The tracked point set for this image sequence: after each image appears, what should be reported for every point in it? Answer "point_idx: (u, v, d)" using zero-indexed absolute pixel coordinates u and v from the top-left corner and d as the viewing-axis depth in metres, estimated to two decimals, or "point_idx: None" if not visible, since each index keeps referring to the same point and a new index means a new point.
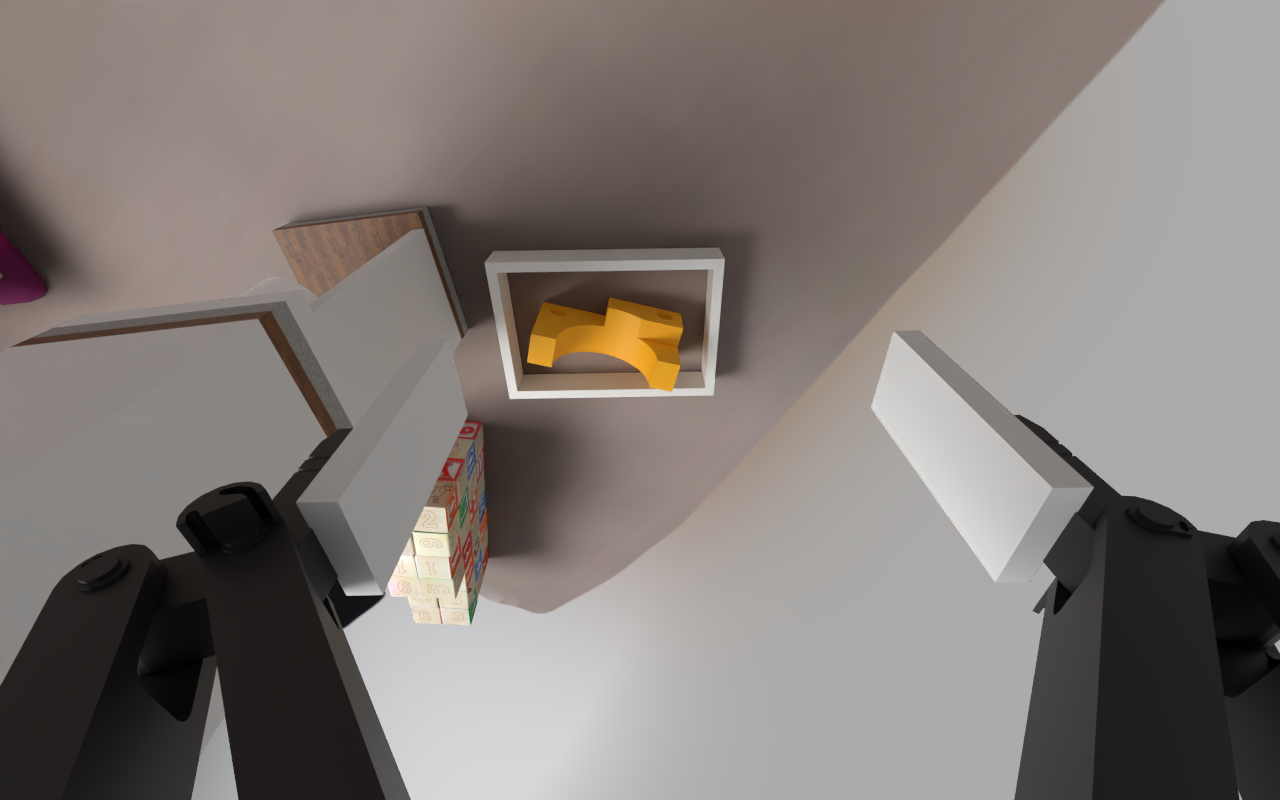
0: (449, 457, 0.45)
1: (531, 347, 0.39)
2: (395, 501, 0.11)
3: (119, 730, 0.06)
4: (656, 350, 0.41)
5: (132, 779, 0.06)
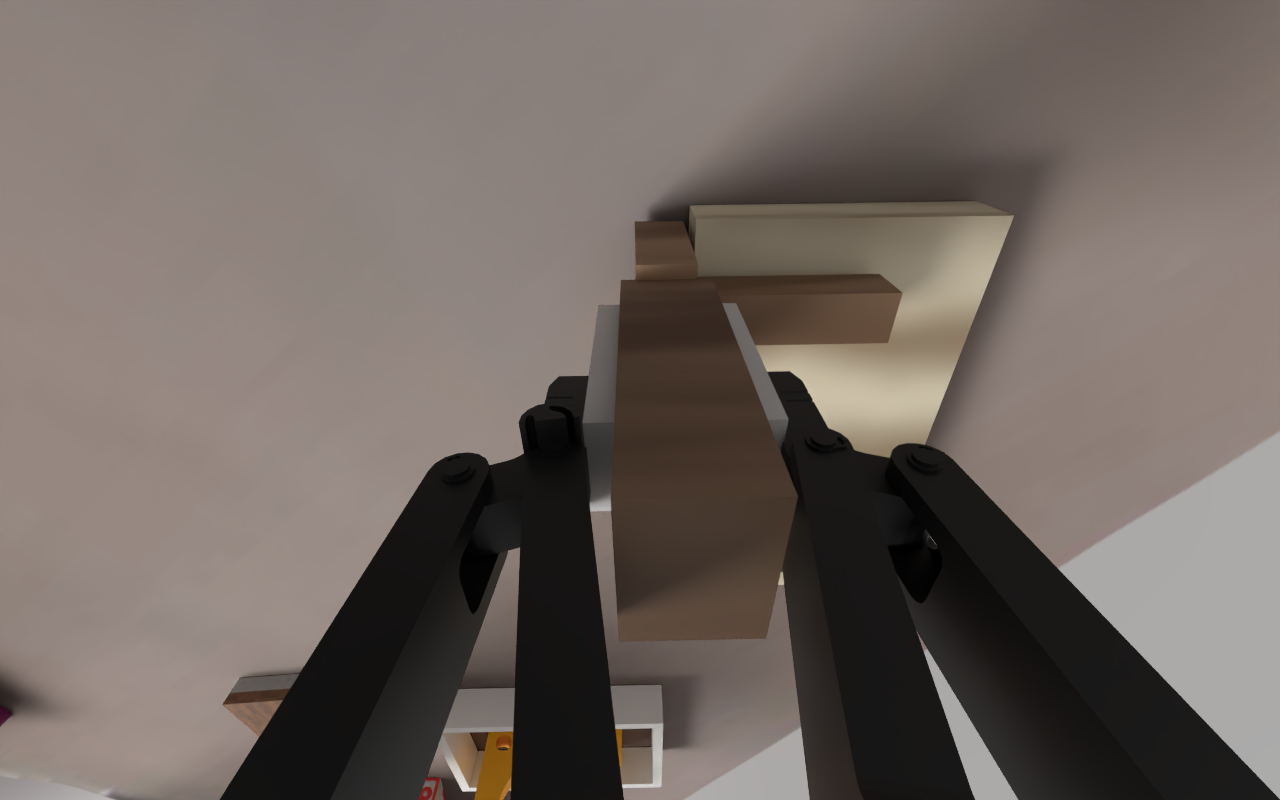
0: None
1: None
2: None
3: (440, 608, 0.08)
4: None
5: (437, 652, 0.08)
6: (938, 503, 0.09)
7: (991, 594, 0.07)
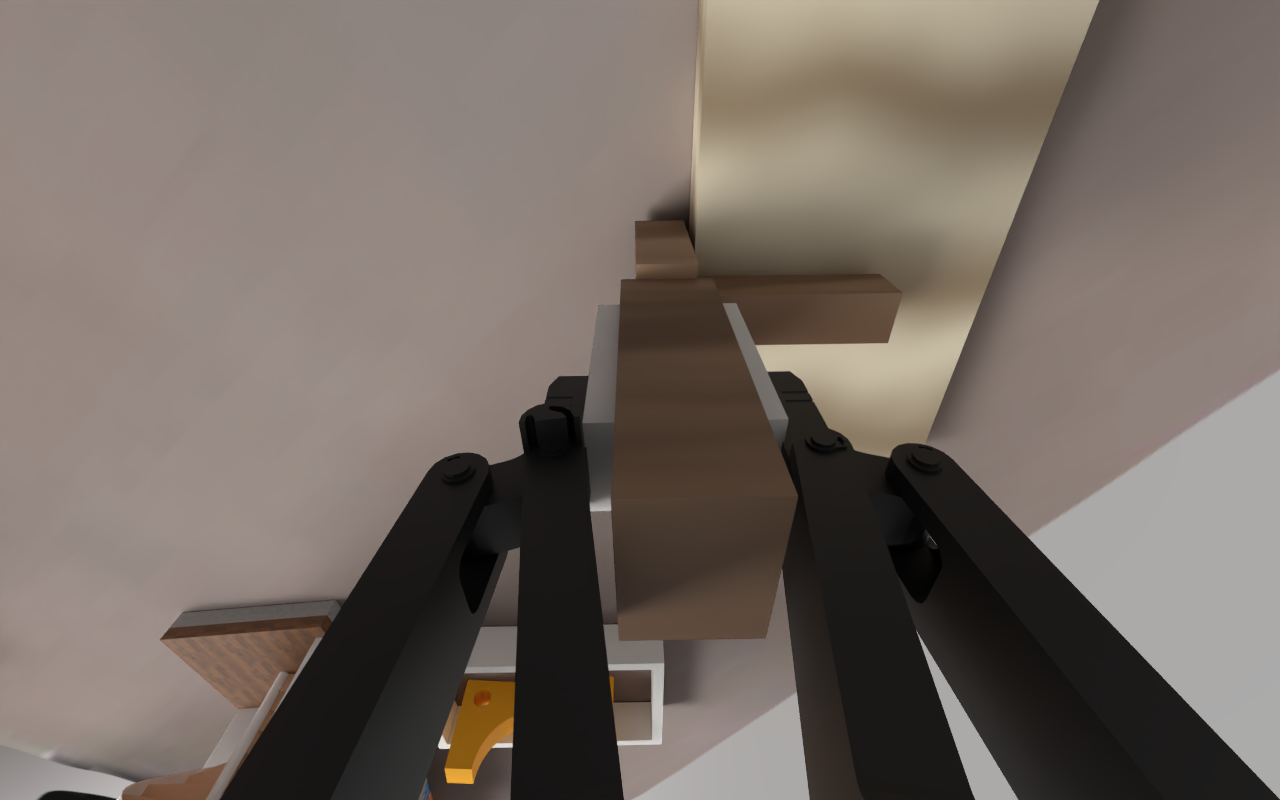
0: None
1: (448, 775, 0.37)
2: None
3: (440, 608, 0.08)
4: None
5: (437, 652, 0.08)
6: (938, 503, 0.09)
7: (991, 594, 0.07)
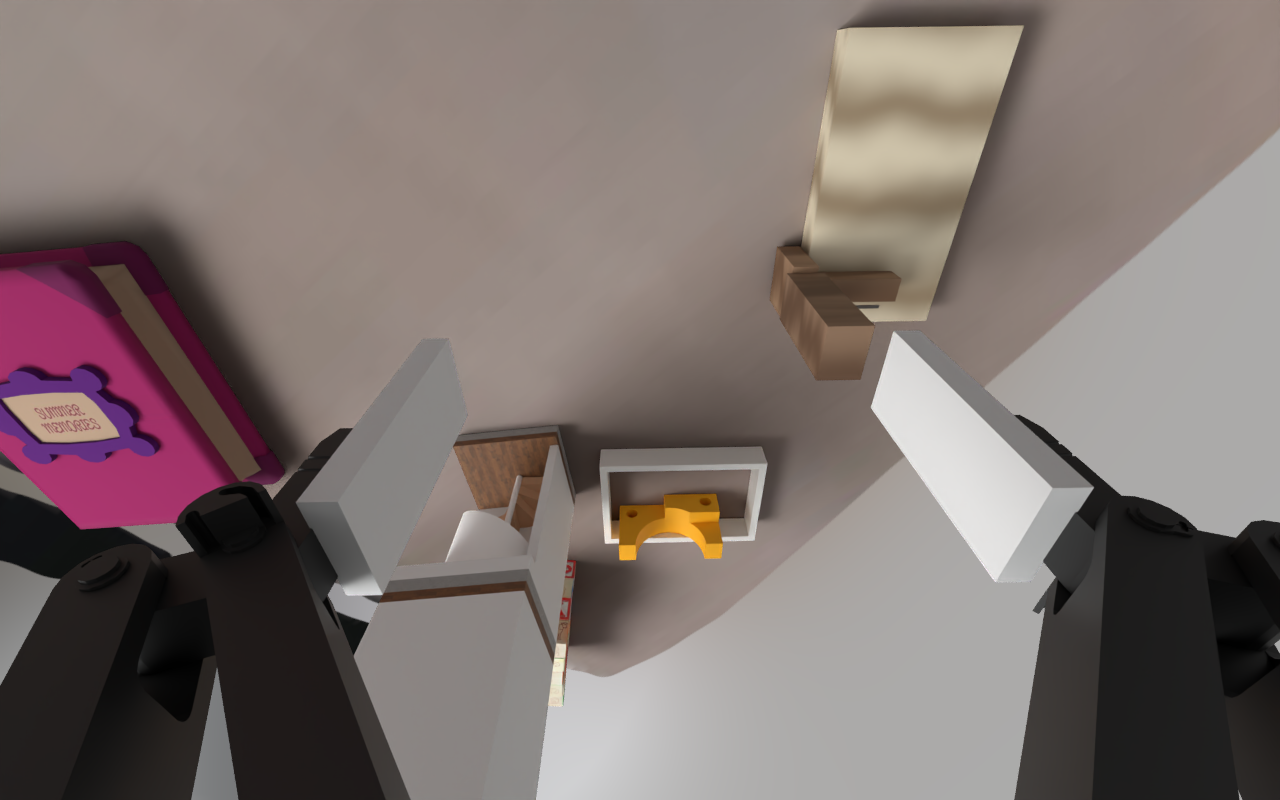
0: None
1: (620, 552, 0.58)
2: (395, 501, 0.11)
3: (119, 730, 0.06)
4: (704, 532, 0.59)
5: (132, 780, 0.06)
6: None
7: None
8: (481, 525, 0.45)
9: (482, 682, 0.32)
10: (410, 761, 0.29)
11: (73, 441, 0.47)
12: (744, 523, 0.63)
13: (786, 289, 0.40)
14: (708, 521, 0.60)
